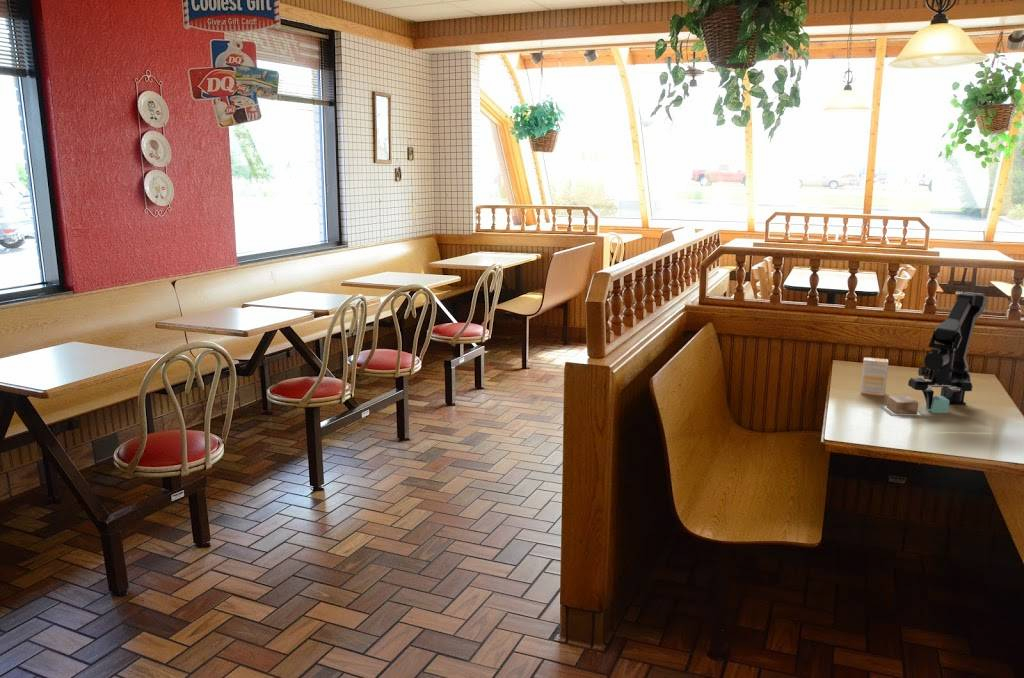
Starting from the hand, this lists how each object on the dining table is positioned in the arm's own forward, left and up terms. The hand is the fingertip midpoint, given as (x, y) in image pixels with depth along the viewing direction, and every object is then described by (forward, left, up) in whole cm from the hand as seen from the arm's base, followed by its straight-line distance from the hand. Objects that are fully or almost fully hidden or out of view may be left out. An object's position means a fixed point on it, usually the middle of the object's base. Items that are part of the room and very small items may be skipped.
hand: (936, 408), depth 269 cm
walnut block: (+12, +1, -1) cm, 12 cm away
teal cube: (0, 0, -1) cm, 1 cm away
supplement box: (+14, -19, -1) cm, 24 cm away
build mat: (+12, +1, -1) cm, 12 cm away
